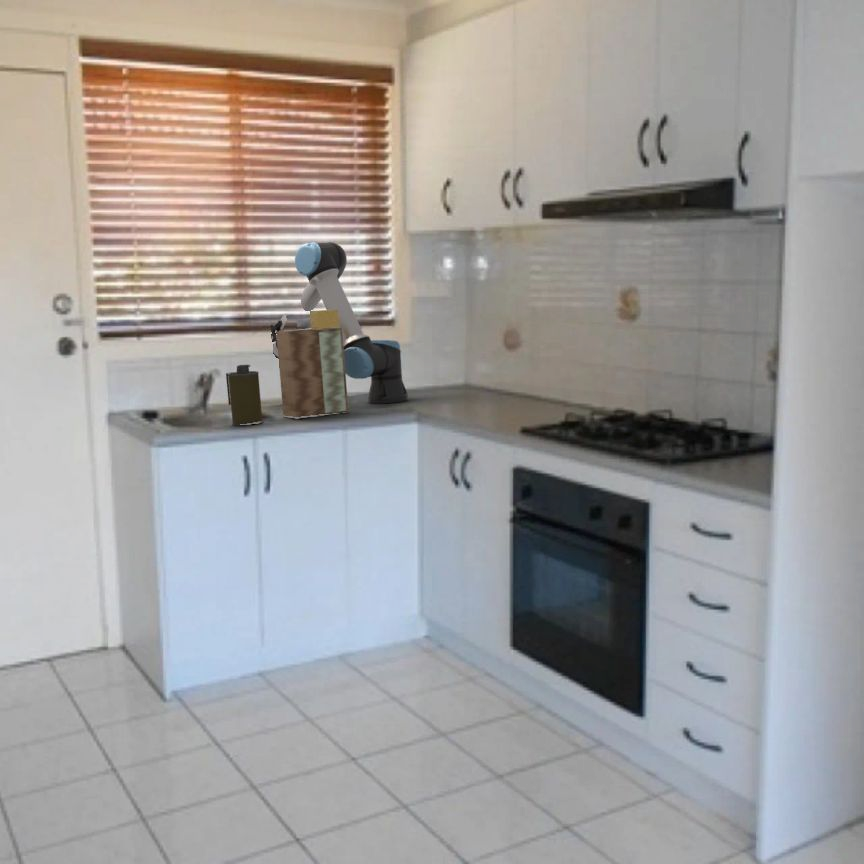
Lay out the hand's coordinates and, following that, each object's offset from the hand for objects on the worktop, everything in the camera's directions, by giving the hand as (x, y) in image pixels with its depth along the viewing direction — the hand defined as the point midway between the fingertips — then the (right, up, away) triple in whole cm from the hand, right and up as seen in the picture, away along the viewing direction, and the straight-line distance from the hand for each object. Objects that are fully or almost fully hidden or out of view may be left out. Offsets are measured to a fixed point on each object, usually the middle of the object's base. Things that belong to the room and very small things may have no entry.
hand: (301, 316), depth 366 cm
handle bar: (+5, -5, -6) cm, 9 cm away
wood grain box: (+6, -36, -9) cm, 38 cm away
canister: (-16, -39, -21) cm, 47 cm away
